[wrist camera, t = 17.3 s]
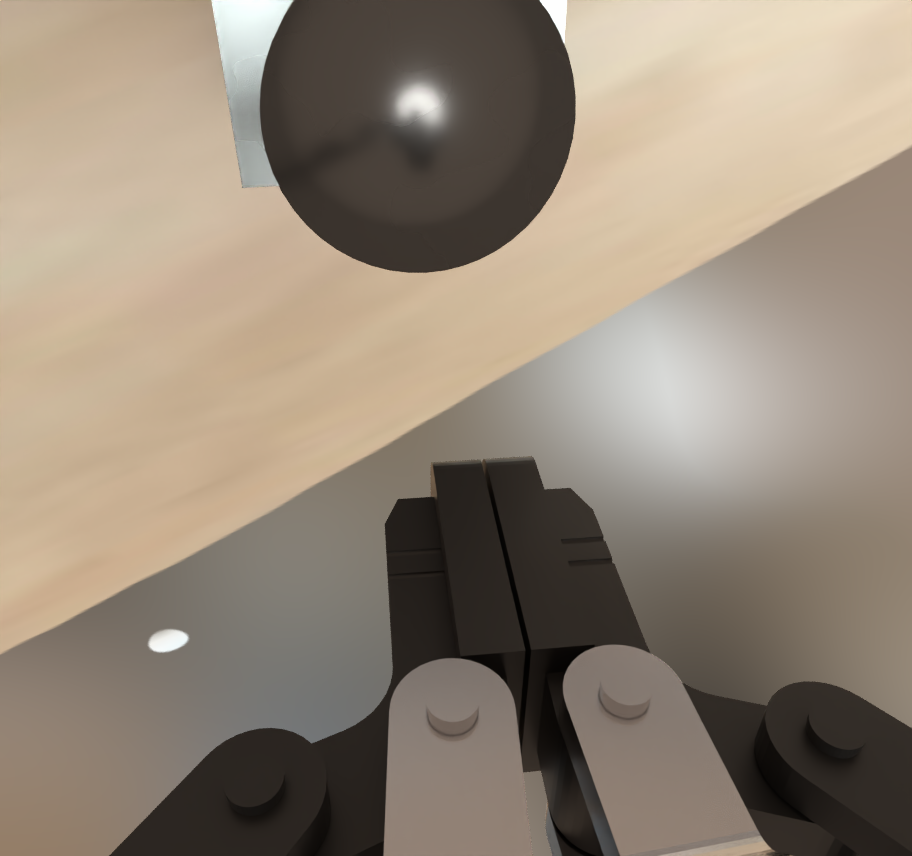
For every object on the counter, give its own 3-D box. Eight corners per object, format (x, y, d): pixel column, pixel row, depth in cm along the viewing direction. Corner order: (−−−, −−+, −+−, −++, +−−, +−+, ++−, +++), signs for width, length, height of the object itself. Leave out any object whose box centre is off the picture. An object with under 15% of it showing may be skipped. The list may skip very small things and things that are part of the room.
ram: (307, 116, 24) (283, 281, 14) (285, -79, 21) (234, -57, 11) (469, 109, 24) (565, 264, 14) (469, -82, 22) (587, -64, 11)
